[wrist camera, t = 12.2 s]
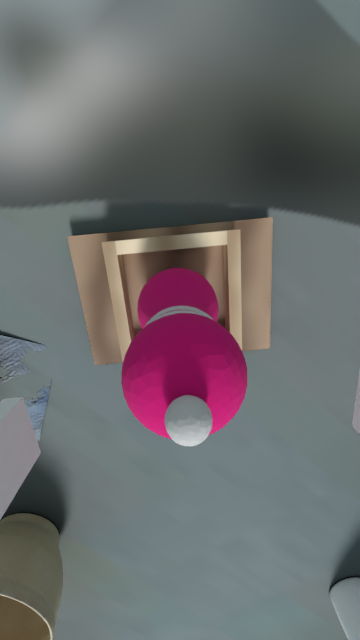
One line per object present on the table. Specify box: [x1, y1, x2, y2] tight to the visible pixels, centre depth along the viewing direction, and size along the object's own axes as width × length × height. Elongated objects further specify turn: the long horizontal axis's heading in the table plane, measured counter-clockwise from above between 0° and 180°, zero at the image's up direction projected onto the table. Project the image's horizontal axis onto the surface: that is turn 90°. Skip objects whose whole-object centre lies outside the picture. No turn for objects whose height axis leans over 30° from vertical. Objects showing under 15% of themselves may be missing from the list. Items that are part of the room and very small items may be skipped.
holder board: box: [67, 217, 273, 365], centre depth 27 cm, size 20×14×4 cm
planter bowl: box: [0, 513, 63, 640], centre depth 35 cm, size 16×16×11 cm
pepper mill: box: [122, 268, 247, 446], centre depth 18 cm, size 7×7×20 cm
